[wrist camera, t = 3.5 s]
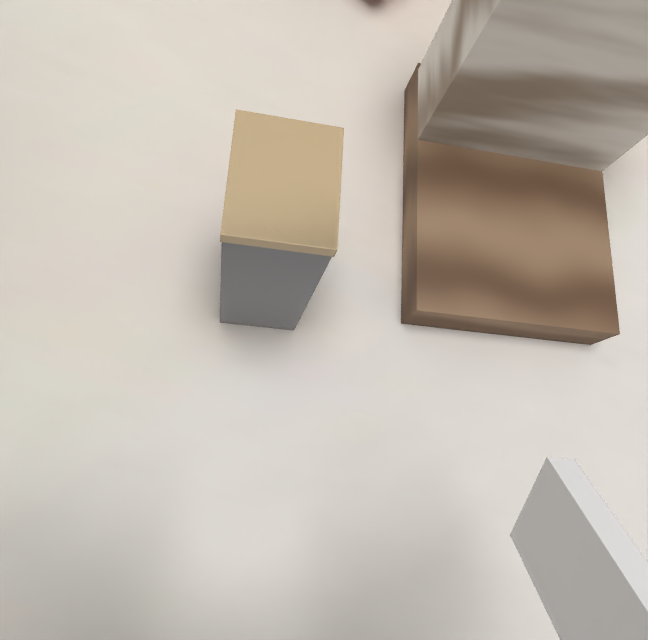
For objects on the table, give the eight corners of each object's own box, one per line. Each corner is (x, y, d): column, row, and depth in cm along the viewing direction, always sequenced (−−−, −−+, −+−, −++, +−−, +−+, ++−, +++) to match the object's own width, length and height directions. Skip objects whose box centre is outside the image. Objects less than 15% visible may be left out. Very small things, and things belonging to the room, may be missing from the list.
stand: (592, 344, 33) (963, 210, 17) (399, 322, 31) (605, 145, 15) (571, 121, 38) (843, -154, 21) (403, 90, 36) (561, -241, 19)
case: (294, 331, 30) (337, 250, 19) (218, 322, 29) (220, 234, 19) (301, 245, 31) (343, 128, 21) (229, 236, 30) (235, 109, 20)
